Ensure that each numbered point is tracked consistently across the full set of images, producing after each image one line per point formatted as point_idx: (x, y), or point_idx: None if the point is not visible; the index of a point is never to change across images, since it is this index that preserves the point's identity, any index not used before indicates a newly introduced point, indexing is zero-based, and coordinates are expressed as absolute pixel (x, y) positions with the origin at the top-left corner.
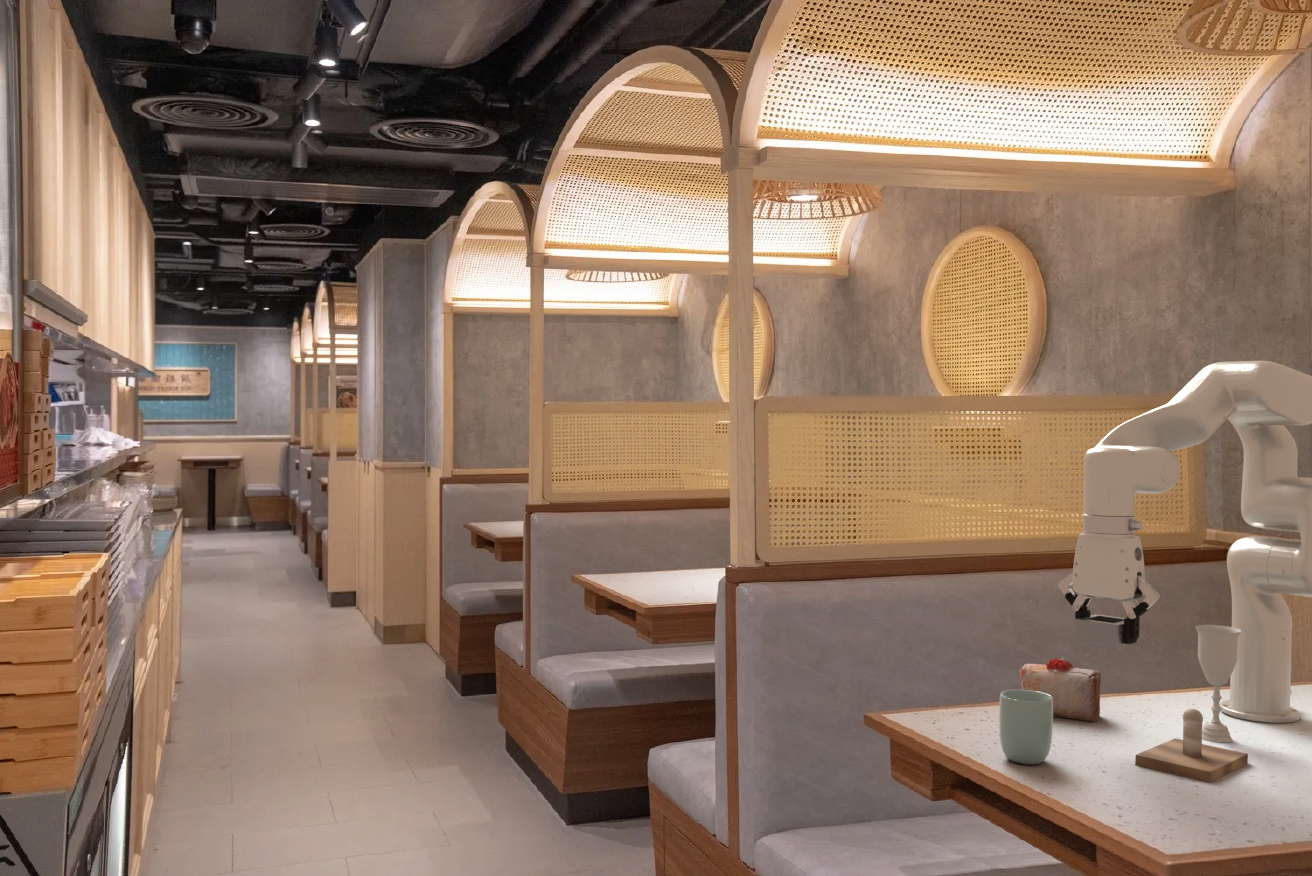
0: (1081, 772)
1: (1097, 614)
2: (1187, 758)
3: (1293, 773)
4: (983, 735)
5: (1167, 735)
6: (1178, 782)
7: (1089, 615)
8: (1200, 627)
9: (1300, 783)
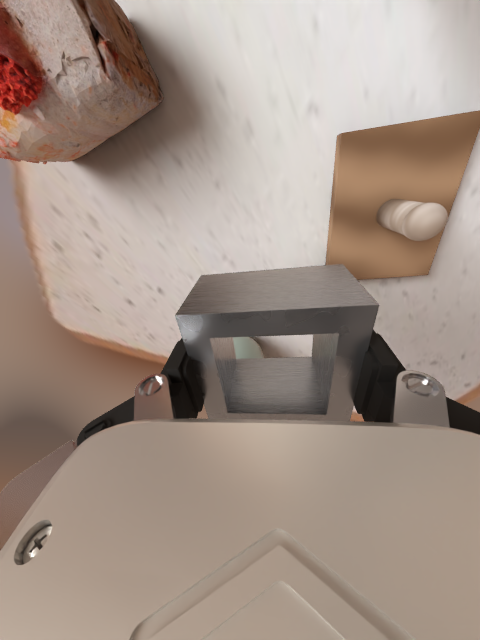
0: (294, 338)
1: (185, 319)
2: (389, 241)
3: None
4: (156, 308)
5: (293, 38)
6: (385, 297)
7: (190, 361)
8: None
9: None
